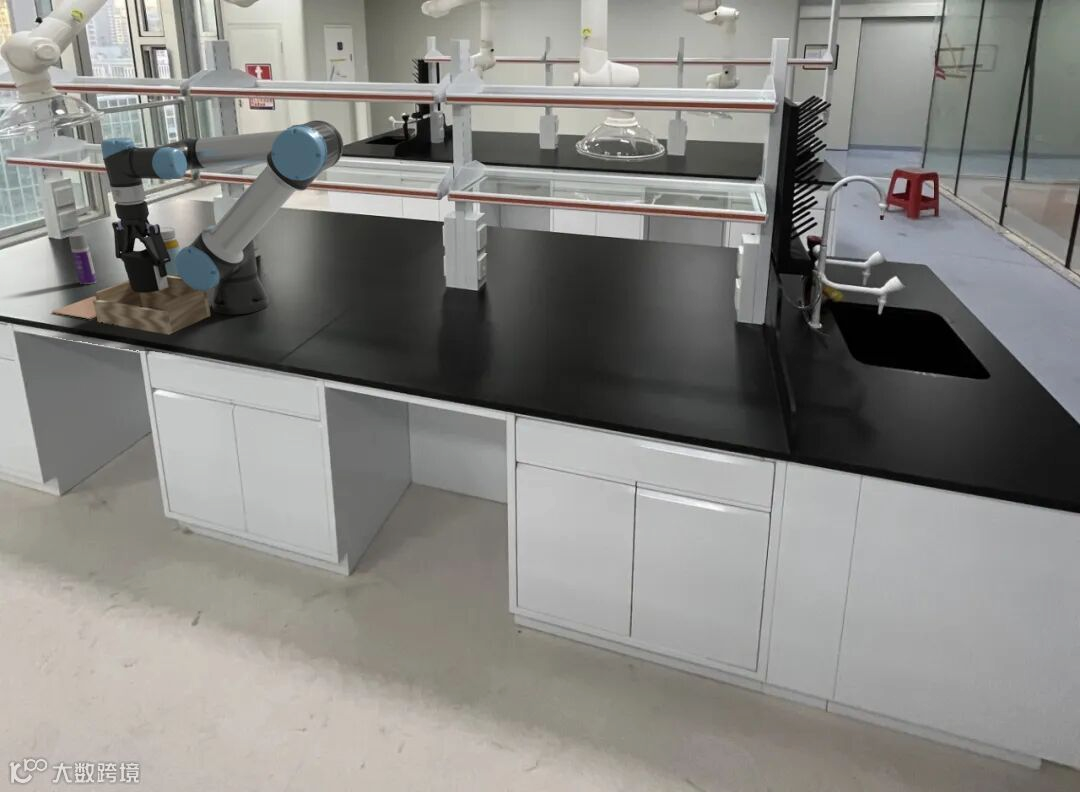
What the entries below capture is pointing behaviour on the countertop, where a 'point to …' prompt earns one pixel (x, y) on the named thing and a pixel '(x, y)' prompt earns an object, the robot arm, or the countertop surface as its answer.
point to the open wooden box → (152, 306)
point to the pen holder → (140, 271)
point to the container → (82, 258)
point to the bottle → (170, 249)
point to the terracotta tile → (79, 309)
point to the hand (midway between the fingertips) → (149, 286)
